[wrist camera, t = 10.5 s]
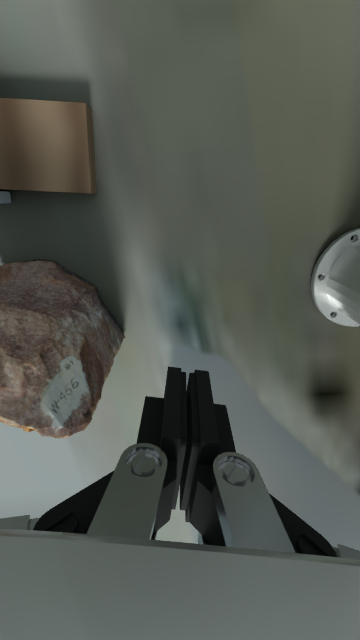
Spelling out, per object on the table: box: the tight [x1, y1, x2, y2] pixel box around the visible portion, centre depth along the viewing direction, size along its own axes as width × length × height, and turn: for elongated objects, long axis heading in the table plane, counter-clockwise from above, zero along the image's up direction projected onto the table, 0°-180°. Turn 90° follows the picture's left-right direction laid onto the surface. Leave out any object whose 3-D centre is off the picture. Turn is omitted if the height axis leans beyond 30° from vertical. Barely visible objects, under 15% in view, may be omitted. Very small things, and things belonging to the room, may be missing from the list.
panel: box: [0, 98, 97, 194], centre depth 31 cm, size 14×8×3 cm, turn 87°
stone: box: [0, 259, 125, 438], centre depth 29 cm, size 19×11×20 cm, turn 58°
